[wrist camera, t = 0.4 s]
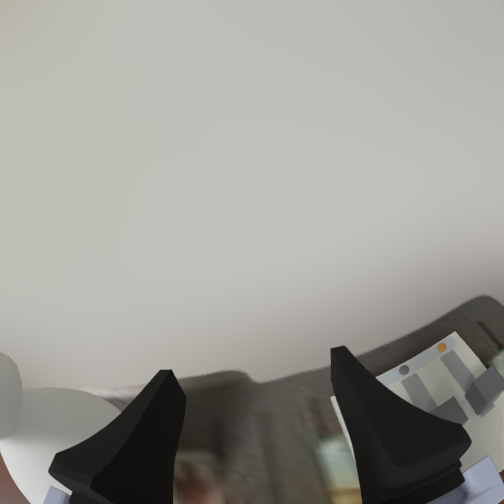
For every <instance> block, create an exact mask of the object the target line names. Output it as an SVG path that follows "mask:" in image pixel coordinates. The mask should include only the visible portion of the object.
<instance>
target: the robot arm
mask: <svg viewBox="0 0 504 504" xmlns="http://www.w3.org/2000/svg"><path fill="white" fill-rule="evenodd" d="M331 381H332V385H333V390H334V394H335V398H336V401H337V403H338V406H339V409H340V412H341V414H342V417H343V420H344V423H345V425H346V428H347V431H348V434H349V437H350V440H351V443H352V448H353V452H354V457H355V461H356V466H357V472H358V477H359V483H360V489H361V496H362V504H498V503H499V502H500V501H502V500H503V499H504V483H503V481H502V479H501V477H500V474H499V472H498V470H497V468H496V466H495V464H494V462H493V460H492V458H491V456H490V455H487V456H486V457H484V458H483V459H481V460H480V461H478V462H477V463H475V464H474V465H472V466H471V467H469V468H468V469H466V470H465V471H463V472H461V470H460V468H461V467H462V463H461V461H460V458H461V457H462V456H463V455H464V454H465V452H466V451H467V450H468V449H469V447H470V446H471V443H472V440H471V438H470V436H469V434H468V433H467V431H466V430H465V429H464V427H463V426H462V424H458V423H455V422H452V421H448V420H445V419H442V418H440V417H437V416H435V415H432V414H430V413H428V412H426V411H424V410H422V409H420V408H418V407H416V406H414V405H412V404H411V403H409V402H407V401H406V400H404V399H403V398H401V397H400V396H398V395H397V394H395V393H394V392H392V391H391V390H390V389H389V388H387V387H386V386H385V385H384V384H382V383H381V382H380V381H379V380H378V379H376V378H375V377H374V376H373V375H372V374H371V373H370V372H369V371H368V370H367V369H366V368H365V367H364V366H363V365H362V364H361V363H360V362H359V361H358V360H357V359H356V358H355V357H354V356H353V354H352V353H351V352H350V351H349V350H348V349H347V347H345V346H340V347H335V348H331ZM185 406H186V396H185V394H184V392H183V390H182V389H181V387H180V385H179V383H178V381H177V379H176V377H175V375H174V373H173V371H172V370H160V371H159V372H158V373H157V374H156V375H155V376H154V377H153V378H152V380H151V381H150V382H149V383H148V384H147V385H146V387H145V388H144V389H143V390H142V391H141V392H140V393H139V395H138V396H137V397H136V398H135V399H134V400H133V401H132V402H131V403H130V404H129V405H128V406H127V407H126V408H125V409H124V410H123V411H122V413H120V414H119V415H118V416H117V417H116V418H115V419H114V420H113V421H111V422H110V423H109V424H108V425H107V426H105V427H104V428H103V429H101V430H100V431H98V432H97V433H95V434H94V435H92V436H91V437H89V438H88V439H86V440H84V441H82V442H80V443H79V444H77V445H75V446H72V447H70V448H68V449H65V450H63V451H60V452H58V453H56V454H55V456H54V458H53V461H52V463H51V465H50V467H49V469H48V473H49V474H50V475H51V476H52V477H53V478H54V479H55V480H57V481H58V482H59V483H61V484H62V485H63V486H65V487H66V488H68V489H69V490H71V491H72V494H71V495H69V494H67V493H65V492H63V491H61V490H59V489H57V488H55V487H53V486H50V487H49V490H48V492H47V495H46V497H45V500H44V502H43V504H173V475H174V463H175V456H176V450H177V446H178V442H179V438H180V433H181V429H182V425H183V420H184V416H185Z"/></svg>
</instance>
